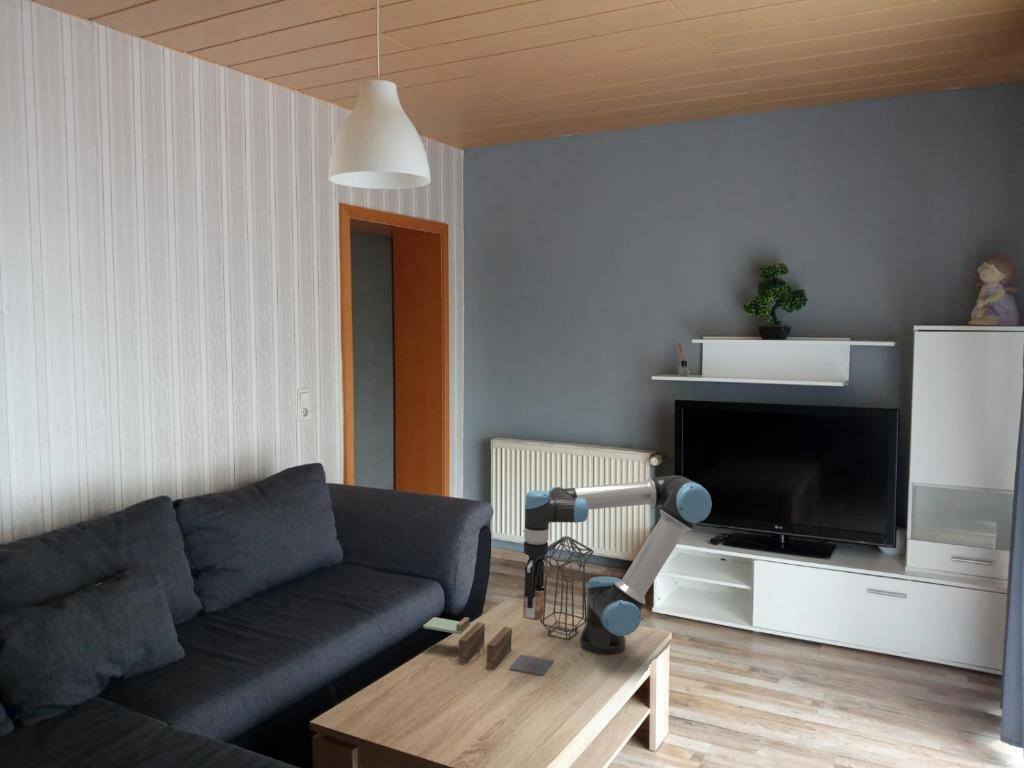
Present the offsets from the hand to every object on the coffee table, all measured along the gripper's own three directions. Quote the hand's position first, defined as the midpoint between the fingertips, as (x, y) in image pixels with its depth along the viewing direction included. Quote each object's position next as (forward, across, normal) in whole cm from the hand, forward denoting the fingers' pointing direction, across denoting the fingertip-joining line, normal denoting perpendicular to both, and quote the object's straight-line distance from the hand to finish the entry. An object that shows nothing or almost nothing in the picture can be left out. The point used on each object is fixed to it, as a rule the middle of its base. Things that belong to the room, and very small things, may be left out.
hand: (533, 614), depth 256 cm
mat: (+17, 0, 0) cm, 17 cm away
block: (+1, 0, 0) cm, 1 cm away
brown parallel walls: (+17, -1, -16) cm, 23 cm away
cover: (+9, -1, -30) cm, 31 cm away
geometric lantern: (+17, -28, +2) cm, 33 cm away
